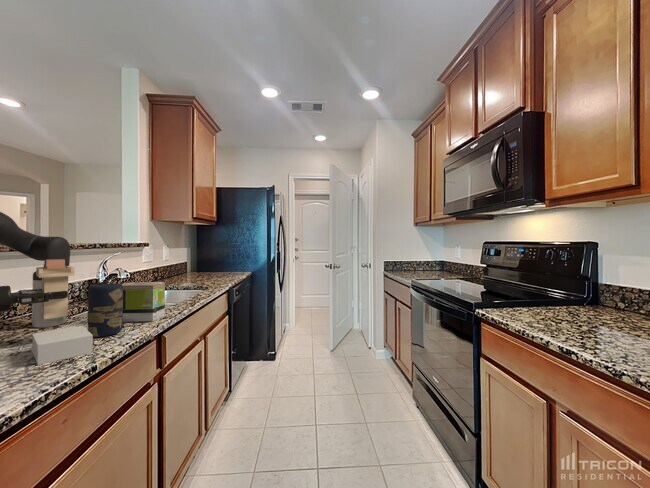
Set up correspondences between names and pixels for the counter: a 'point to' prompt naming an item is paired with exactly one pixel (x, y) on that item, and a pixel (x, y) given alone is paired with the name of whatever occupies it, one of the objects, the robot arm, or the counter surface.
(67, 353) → the dock
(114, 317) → the canister
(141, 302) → the tea box
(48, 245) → the robot arm
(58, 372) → the counter surface
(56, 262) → the cargo block
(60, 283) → the pedestal tray
